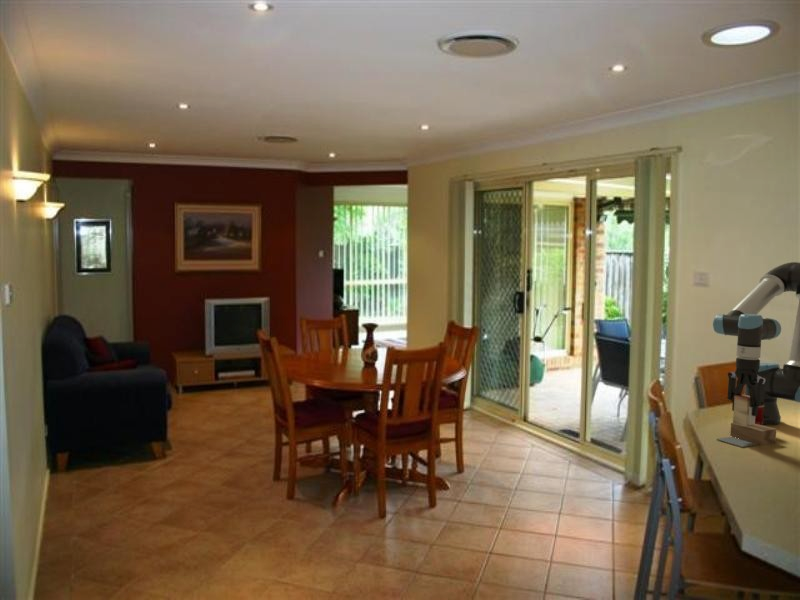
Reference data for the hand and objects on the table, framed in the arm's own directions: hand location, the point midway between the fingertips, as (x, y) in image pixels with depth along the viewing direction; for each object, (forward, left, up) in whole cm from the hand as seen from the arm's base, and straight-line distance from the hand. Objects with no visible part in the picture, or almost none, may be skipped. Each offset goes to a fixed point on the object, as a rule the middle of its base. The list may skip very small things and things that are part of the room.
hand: (743, 422), depth 240 cm
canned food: (-15, -7, -7) cm, 18 cm away
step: (-6, 0, -7) cm, 9 cm away
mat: (+3, 0, -7) cm, 8 cm away
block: (0, 0, -1) cm, 1 cm away
